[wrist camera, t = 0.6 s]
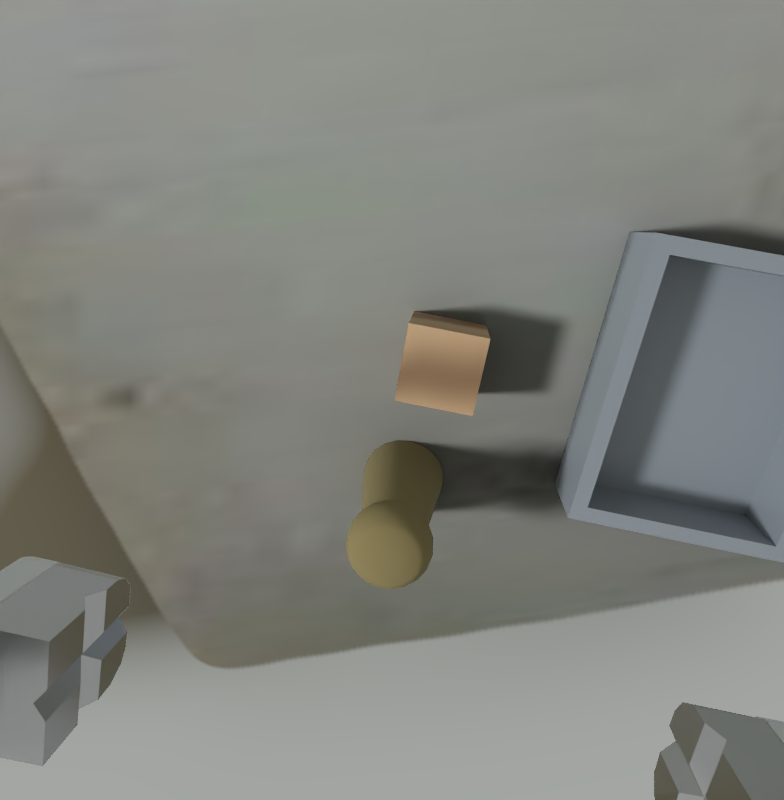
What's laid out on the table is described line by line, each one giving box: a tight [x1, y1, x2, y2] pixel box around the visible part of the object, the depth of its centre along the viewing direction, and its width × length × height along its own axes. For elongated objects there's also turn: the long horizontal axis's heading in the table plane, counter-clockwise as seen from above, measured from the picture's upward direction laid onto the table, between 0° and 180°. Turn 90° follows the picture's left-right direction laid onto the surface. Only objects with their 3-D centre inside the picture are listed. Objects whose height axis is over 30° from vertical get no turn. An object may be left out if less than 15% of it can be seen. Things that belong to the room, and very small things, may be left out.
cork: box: [346, 440, 443, 589], centre depth 36 cm, size 6×6×11 cm
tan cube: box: [395, 311, 491, 416], centre depth 36 cm, size 5×5×5 cm
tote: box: [555, 232, 784, 563], centre depth 35 cm, size 18×14×5 cm
